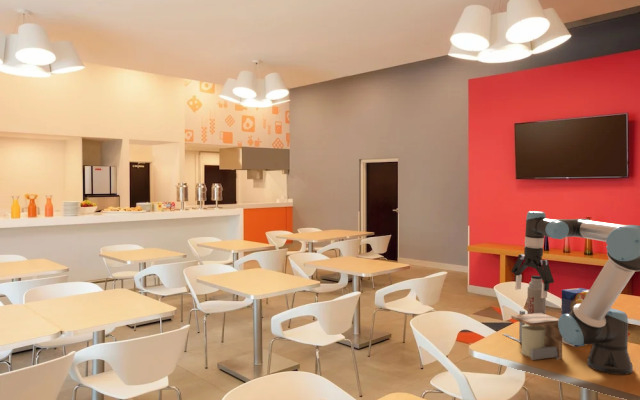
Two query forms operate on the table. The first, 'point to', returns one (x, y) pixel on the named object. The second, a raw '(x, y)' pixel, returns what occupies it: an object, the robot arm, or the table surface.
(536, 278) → the thermos bottle
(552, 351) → the slider
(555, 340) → the brown angular piece
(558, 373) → the table surface
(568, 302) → the juice carton
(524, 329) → the can
